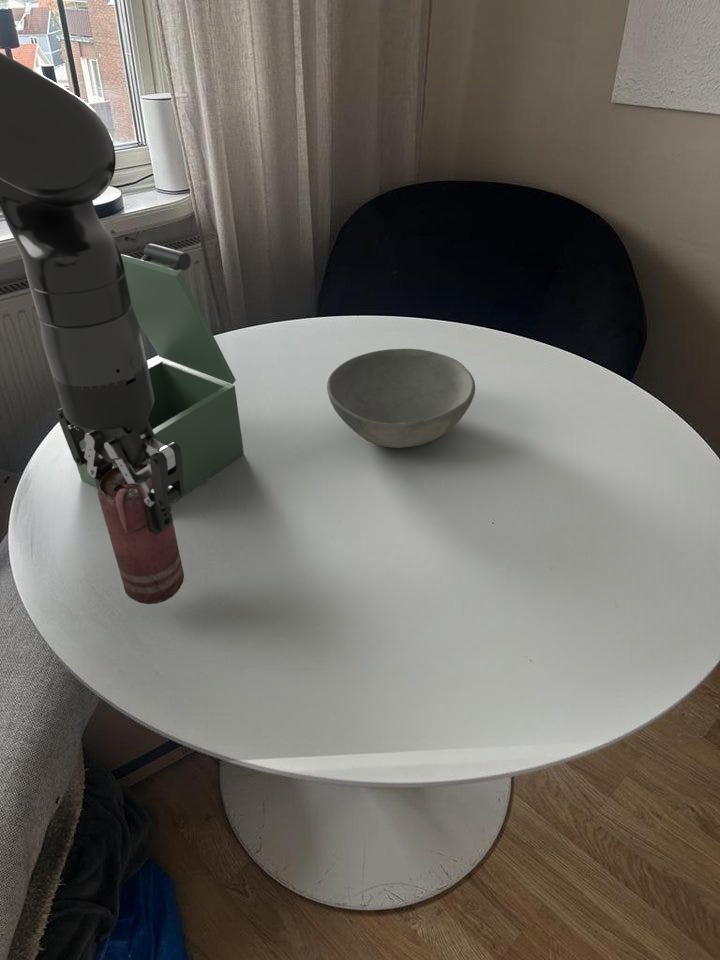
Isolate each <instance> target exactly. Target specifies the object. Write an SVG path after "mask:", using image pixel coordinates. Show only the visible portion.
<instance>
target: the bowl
mask: <svg viewBox="0 0 720 960" xmlns="http://www.w3.org/2000/svg"><path fill="white" fill-rule="evenodd" d="M326 392H327V395H328V398H329V401H330V404H331V405H332V408H333V409H334V411H335V412H336V414H337V416H338V417H340V419H341V420H342V421H343V422H344V424H346V425H347V426H348V427H349V428H350V429H351V430H352V431H353V432H355V433H356V434H357V435H358V436H360V437H361V438H363V439H364V440H366V441H368V442H370V443H372V444H374V445H377V446H380V447H384V448H391V449H393V448H394V449H403V448H410V447H418V446H422V445H425V444H428V443H431V442H432V441H434V440H436V439H439V438H440V437H442V436H443V435H445V434H446V433H447V432H449V431H450V430H452V428H454V427H455V426H456V425H457V424H458V423H459V421H460V420H462V417H464V416H465V414H466V412H467V411H468V409H469V408H470V406H471V404H472V402H473V400H474V397H475V395H476V382H475V379H474V377H473V375H472V373H471V372H470V371H469V370H468V368H467V367H465V365H464V364H462V362H460V361H458V360H457V359H455V358H453V357H451V356H448V355H445V354H441V353H439V352H436V351H431V350H426V349H419V348H388V349H382V350H375V351H371V352H367V353H364V354H363V353H362V354H360V355H356V356H355V357H352V358H349V359H348V360H346V361H344V362H343V363H341V364H340V365H338V366H337V367H336V368H335V369H334V370H333V371H332V372H331V373H330V375H329V377H328V379H327V382H326Z"/></svg>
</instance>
